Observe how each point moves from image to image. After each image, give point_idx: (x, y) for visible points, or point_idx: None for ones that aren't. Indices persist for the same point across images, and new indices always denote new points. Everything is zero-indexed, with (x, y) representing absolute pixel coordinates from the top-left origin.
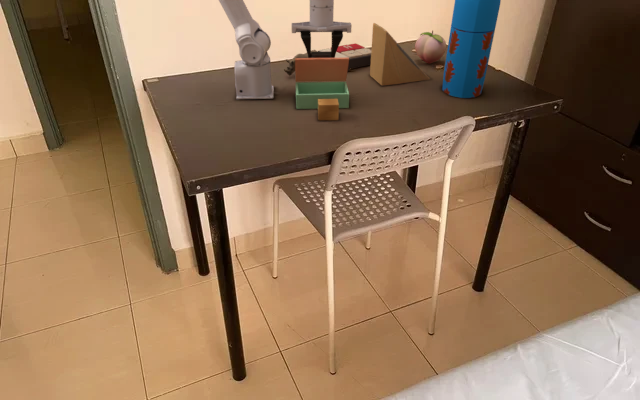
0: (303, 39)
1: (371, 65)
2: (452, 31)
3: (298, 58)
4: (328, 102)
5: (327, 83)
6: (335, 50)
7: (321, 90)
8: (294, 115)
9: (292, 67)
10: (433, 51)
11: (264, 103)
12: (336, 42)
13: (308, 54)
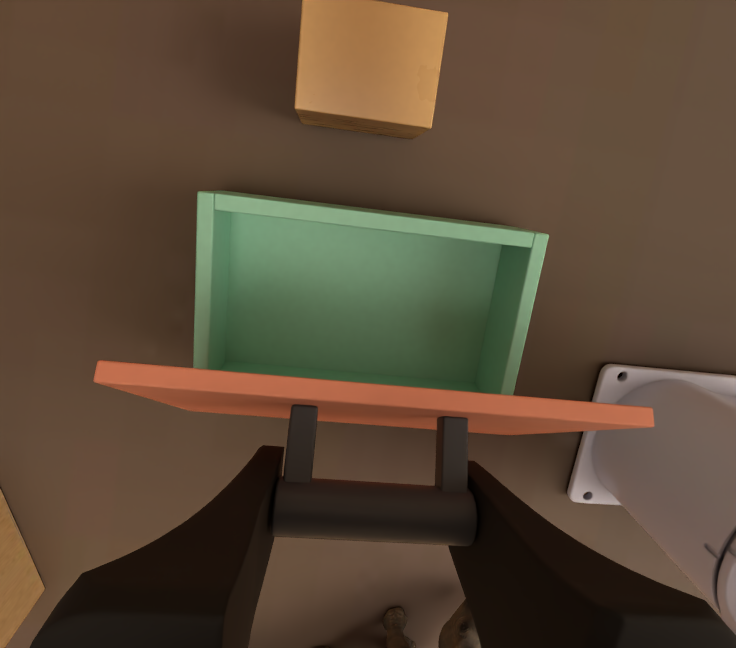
0: (687, 600)
1: (2, 634)
2: None
3: (623, 420)
4: (371, 47)
5: None
6: (227, 497)
7: (350, 380)
8: (541, 146)
9: (465, 636)
10: None
11: (652, 322)
12: (191, 551)
13: (511, 493)
